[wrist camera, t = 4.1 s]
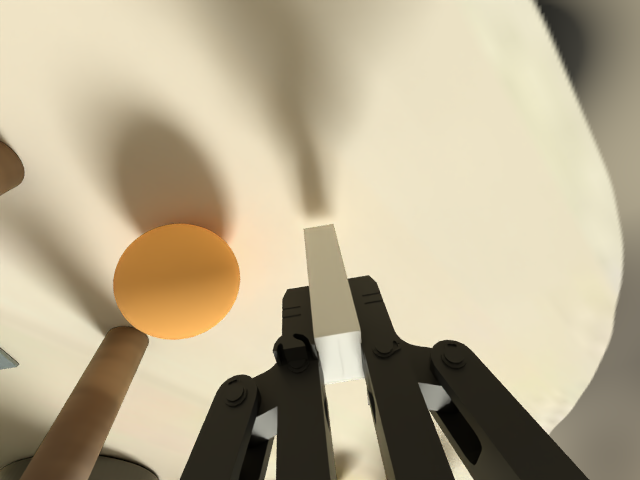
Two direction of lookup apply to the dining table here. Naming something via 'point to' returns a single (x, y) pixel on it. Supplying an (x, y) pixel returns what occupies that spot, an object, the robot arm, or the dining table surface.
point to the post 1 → (9, 169)
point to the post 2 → (89, 410)
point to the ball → (176, 281)
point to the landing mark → (6, 361)
